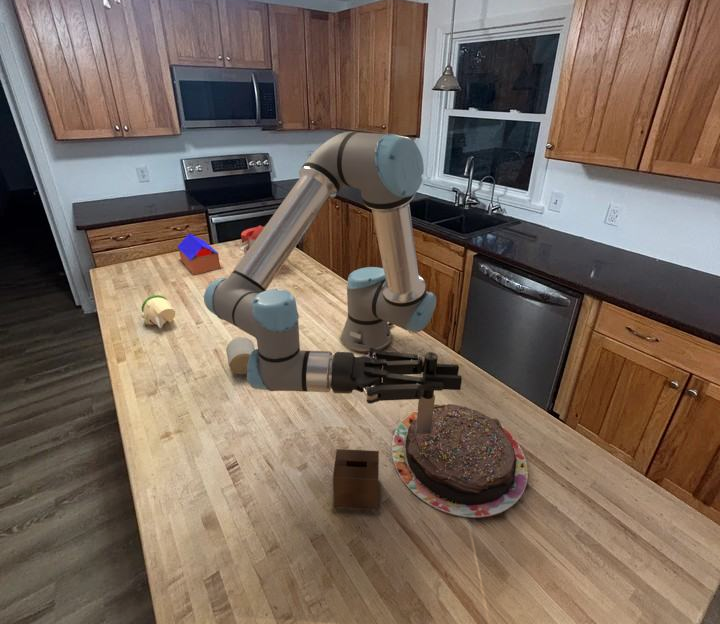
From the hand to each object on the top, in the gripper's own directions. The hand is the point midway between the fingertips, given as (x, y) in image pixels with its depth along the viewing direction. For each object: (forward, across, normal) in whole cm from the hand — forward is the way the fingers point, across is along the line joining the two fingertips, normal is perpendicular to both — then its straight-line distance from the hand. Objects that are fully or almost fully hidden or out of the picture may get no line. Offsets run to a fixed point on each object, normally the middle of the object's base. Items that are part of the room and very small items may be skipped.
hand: (459, 377), depth 72 cm
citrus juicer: (-65, -93, -23) cm, 116 cm away
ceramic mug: (-51, -29, -23) cm, 63 cm away
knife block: (-18, +8, -23) cm, 30 cm away
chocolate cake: (+2, -2, -23) cm, 23 cm away
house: (-95, -97, -23) cm, 138 cm away
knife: (-5, 0, -14) cm, 16 cm away
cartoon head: (-89, -50, -23) cm, 105 cm away
